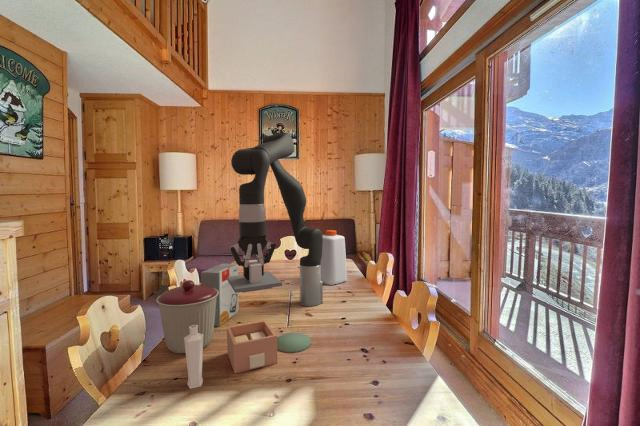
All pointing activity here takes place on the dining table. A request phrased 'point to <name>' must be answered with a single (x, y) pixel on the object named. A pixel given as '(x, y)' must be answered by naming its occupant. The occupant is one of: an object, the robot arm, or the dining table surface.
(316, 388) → the dining table surface
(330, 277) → the plastic bottle
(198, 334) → the perfume bottle
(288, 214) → the robot arm
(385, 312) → the dining table surface
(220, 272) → the hard drive box
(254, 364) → the crate
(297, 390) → the dining table surface
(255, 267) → the lid
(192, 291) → the canister
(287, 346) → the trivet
